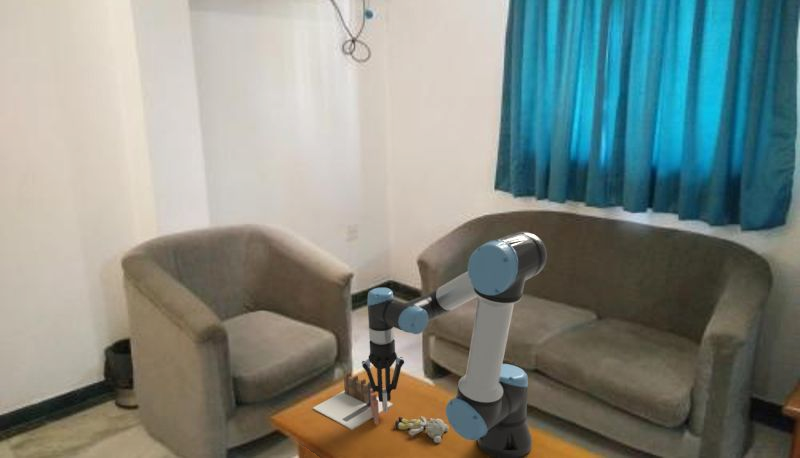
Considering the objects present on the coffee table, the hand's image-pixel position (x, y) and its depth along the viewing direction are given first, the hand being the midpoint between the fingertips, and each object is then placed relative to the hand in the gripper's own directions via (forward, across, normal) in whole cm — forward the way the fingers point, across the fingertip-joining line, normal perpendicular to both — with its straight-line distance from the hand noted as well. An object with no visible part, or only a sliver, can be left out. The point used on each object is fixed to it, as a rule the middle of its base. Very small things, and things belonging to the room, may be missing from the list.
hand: (385, 409), depth 181 cm
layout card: (+2, +9, -8) cm, 12 cm away
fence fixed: (+2, +7, -12) cm, 14 cm away
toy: (+3, -9, +9) cm, 13 cm away
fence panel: (+2, +3, 0) cm, 4 cm away
